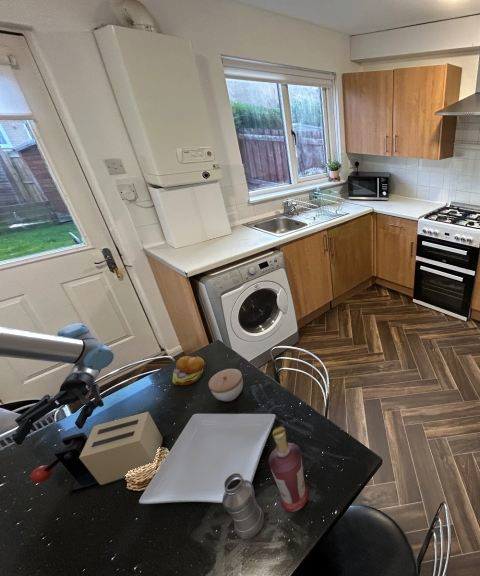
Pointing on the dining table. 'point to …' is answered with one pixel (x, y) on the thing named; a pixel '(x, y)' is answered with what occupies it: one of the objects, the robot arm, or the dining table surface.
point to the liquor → (288, 472)
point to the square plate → (209, 457)
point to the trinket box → (226, 384)
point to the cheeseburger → (188, 370)
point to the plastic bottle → (242, 506)
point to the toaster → (121, 447)
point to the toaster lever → (50, 465)
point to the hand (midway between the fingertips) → (48, 433)
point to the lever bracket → (76, 463)
